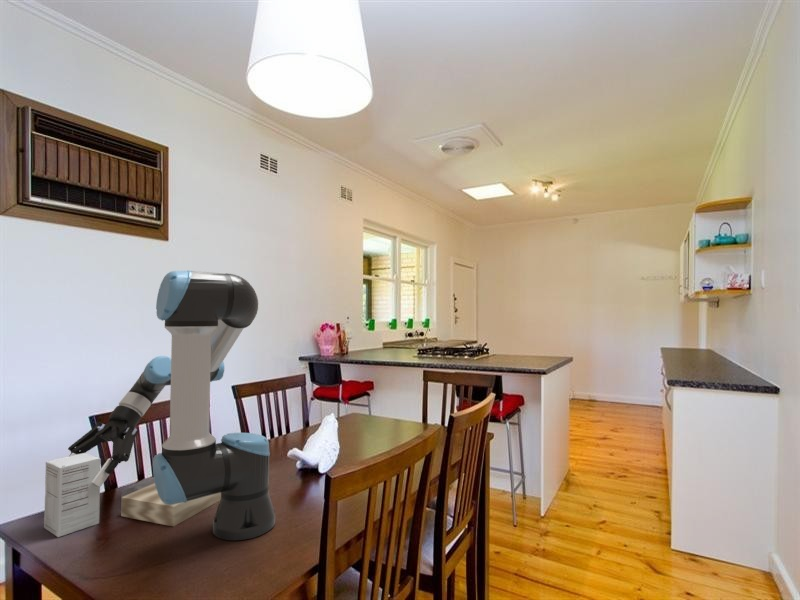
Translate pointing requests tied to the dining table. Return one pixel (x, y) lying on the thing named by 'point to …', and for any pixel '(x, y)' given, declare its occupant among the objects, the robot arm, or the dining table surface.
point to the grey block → (138, 486)
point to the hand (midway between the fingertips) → (76, 481)
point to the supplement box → (71, 494)
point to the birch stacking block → (162, 507)
